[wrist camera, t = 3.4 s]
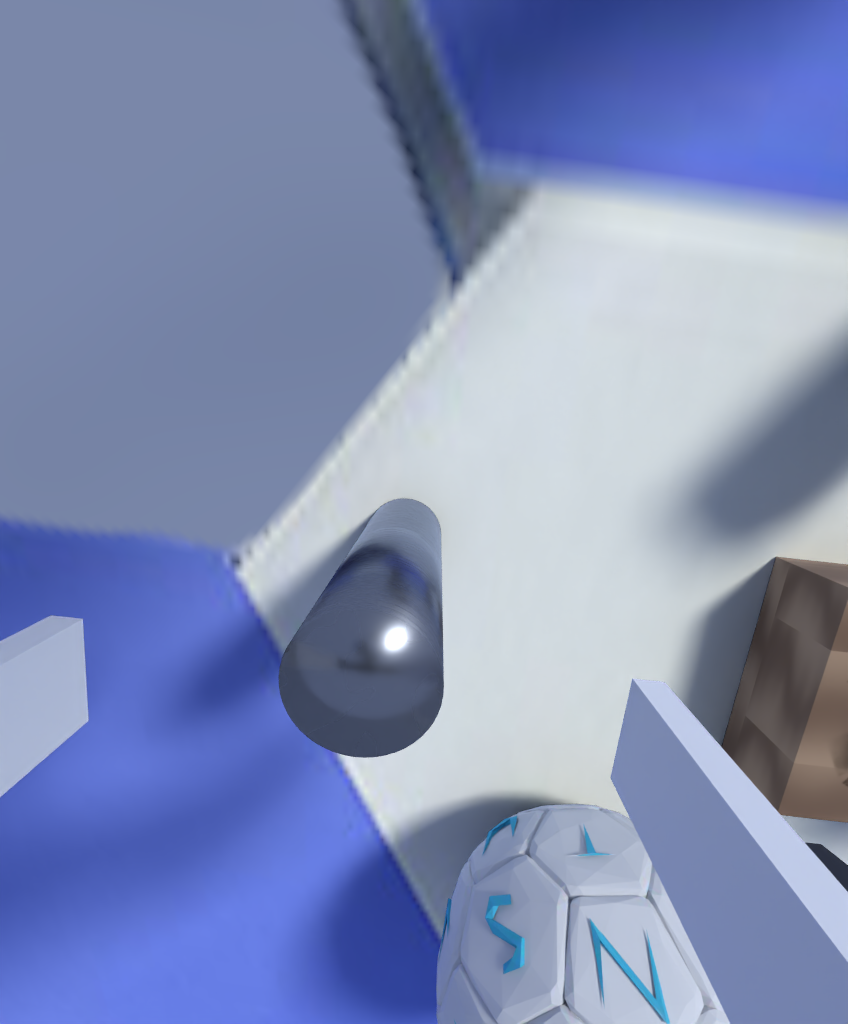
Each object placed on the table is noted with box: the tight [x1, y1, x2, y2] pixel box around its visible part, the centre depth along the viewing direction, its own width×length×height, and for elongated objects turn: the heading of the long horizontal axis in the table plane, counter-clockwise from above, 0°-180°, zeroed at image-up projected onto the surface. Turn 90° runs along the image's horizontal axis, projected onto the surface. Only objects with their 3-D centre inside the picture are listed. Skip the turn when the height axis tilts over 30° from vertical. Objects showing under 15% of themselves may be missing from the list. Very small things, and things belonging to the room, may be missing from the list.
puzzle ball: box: [436, 804, 730, 1024], centre depth 21 cm, size 15×15×15 cm
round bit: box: [279, 498, 444, 757], centre depth 18 cm, size 4×4×14 cm
